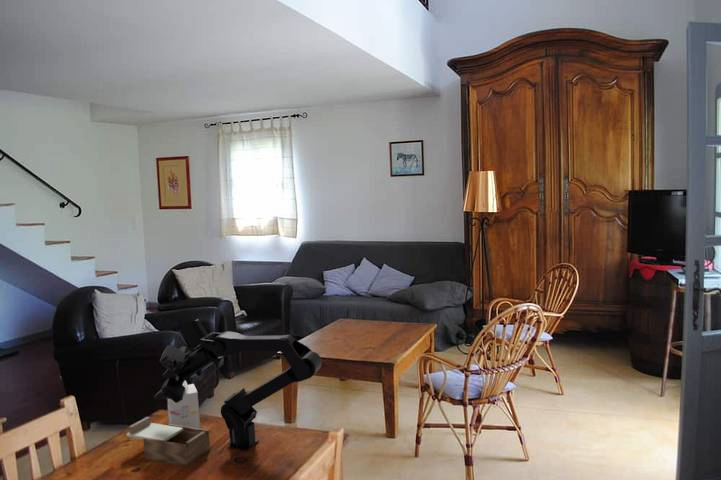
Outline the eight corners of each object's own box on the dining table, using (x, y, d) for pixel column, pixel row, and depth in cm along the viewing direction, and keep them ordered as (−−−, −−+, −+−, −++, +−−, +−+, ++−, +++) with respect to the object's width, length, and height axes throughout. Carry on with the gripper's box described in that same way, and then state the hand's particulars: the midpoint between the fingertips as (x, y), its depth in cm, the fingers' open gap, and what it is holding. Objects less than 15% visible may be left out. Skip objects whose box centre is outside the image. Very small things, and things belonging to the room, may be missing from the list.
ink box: (168, 424, 182) (165, 382, 180) (195, 418, 185) (193, 377, 184) (172, 434, 174) (168, 391, 173) (200, 428, 178) (197, 386, 176)
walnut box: (210, 450, 163) (208, 429, 162) (186, 467, 154) (184, 445, 153) (170, 443, 168) (168, 423, 167) (145, 459, 159) (143, 438, 158)
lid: (183, 430, 164) (182, 421, 164) (163, 442, 157) (162, 433, 157) (147, 424, 169) (147, 415, 169) (126, 436, 162) (125, 427, 162)
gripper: (186, 323, 171) (148, 349, 175) (169, 364, 154) (128, 392, 158) (212, 347, 175) (175, 372, 179) (199, 389, 159) (158, 416, 162)
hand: (159, 387), depth 170 cm, fingers open, 9 cm apart
